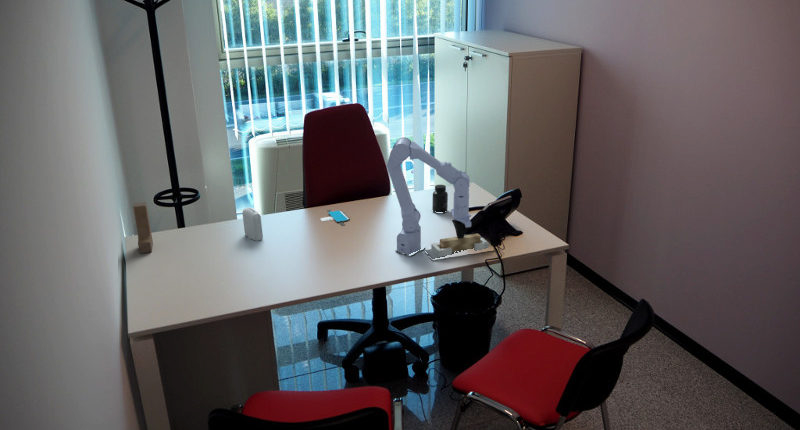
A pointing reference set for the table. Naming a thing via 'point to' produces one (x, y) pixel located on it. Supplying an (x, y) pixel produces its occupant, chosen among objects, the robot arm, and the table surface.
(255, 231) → the photo printer
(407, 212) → the robot arm
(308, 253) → the table surface
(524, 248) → the table surface
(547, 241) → the table surface
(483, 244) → the cradle
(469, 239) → the slat
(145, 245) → the wooden block
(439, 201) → the supplement bottle
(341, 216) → the phone stand
